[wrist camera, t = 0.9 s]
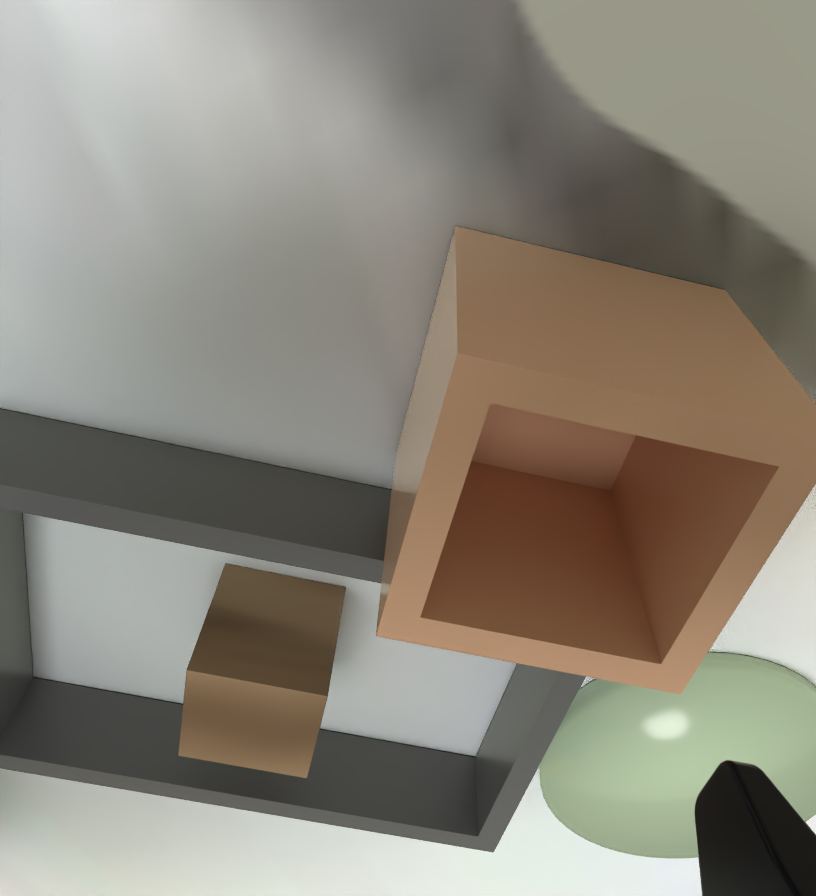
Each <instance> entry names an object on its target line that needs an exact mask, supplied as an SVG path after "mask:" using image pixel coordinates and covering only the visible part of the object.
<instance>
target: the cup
mask: <svg viewBox="0 0 816 896" xmlns="http://www.w3.org/2000/svg"><path fill="white" fill-rule="evenodd" d="M815 484H816V404H815V403H814V402H813V400H812V399H811V398H810V396H809V395H808V394H807V393H806V391H805V390H804V389H803V388H802V386H801V385H800V384H799V383H798V381H797V380H796V379H795V378H794V376H793V375H792V374H791V372H790V371H789V370H788V369H787V367H786V366H785V365H784V364H783V362H782V361H781V360H780V359H779V357H778V356H777V355H776V353H775V352H774V351H773V350H772V348H771V347H770V346H769V345H768V343H767V342H766V341H765V340H764V338H763V337H762V336H761V334H760V333H759V332H758V331H757V329H756V328H755V327H754V326H753V324H752V323H751V322H750V321H749V319H748V318H747V317H746V316H745V314H744V313H743V312H742V310H741V309H740V308H739V307H738V305H737V304H736V303H735V302H734V300H733V299H732V298H731V297H730V295H729V294H728V293H727V291H726V290H723V289H719V288H714V287H710V286H706V285H702V284H698V283H693V282H689V281H685V280H681V279H677V278H672V277H668V276H664V275H660V274H656V273H651V272H647V271H643V270H639V269H635V268H630V267H626V266H622V265H618V264H614V263H609V262H605V261H601V260H597V259H593V258H588V257H584V256H580V255H576V254H572V253H567V252H563V251H559V250H555V249H551V248H546V247H542V246H538V245H534V244H530V243H525V242H521V241H517V240H513V239H509V238H504V237H500V236H496V235H492V234H488V233H483V232H479V231H475V230H471V229H467V228H462V227H458V226H455V229H454V233H453V236H452V240H451V244H450V248H449V252H448V256H447V259H446V263H445V267H444V271H443V275H442V279H441V283H440V286H439V290H438V294H437V298H436V302H435V306H434V309H433V313H432V317H431V321H430V325H429V329H428V333H427V336H426V340H425V344H424V348H423V352H422V356H421V359H420V363H419V367H418V371H417V375H416V379H415V383H414V386H413V390H412V394H411V398H410V402H409V406H408V409H407V413H406V417H405V421H404V425H403V429H402V433H401V436H400V440H399V444H398V448H397V452H396V456H395V463H394V472H393V482H392V491H391V500H390V510H389V519H388V528H387V538H386V547H385V556H384V566H383V575H382V584H381V594H380V603H379V612H378V622H377V631H376V636H378V637H383V638H389V639H394V640H399V641H404V642H410V643H415V644H420V645H425V646H430V647H436V648H441V649H446V650H451V651H456V652H462V653H467V654H472V655H477V656H483V657H488V658H493V659H498V660H503V661H509V662H514V663H519V664H524V665H529V666H535V667H540V668H545V669H550V670H556V671H561V672H566V673H571V674H576V675H582V676H587V677H592V678H597V679H602V680H608V681H613V682H618V683H623V684H629V685H634V686H639V687H644V688H649V689H655V690H660V691H665V692H670V693H675V694H681V693H682V692H683V690H684V689H685V687H686V686H687V684H688V682H689V681H690V679H691V678H692V676H693V675H694V673H695V672H696V670H697V668H698V667H699V665H700V664H701V662H702V661H703V659H704V657H705V656H706V654H707V653H708V651H709V650H710V648H711V646H712V645H713V643H714V642H715V640H716V639H717V637H718V636H719V634H720V632H721V631H722V629H723V628H724V626H725V625H726V623H727V621H728V620H729V618H730V617H731V615H732V614H733V612H734V610H735V609H736V607H737V606H738V604H739V603H740V601H741V600H742V598H743V596H744V595H745V593H746V592H747V590H748V589H749V587H750V585H751V584H752V582H753V581H754V579H755V578H756V576H757V574H758V573H759V571H760V570H761V568H762V567H763V565H764V564H765V562H766V560H767V559H768V557H769V556H770V554H771V553H772V551H773V549H774V548H775V546H776V545H777V543H778V542H779V540H780V538H781V537H782V535H783V534H784V532H785V531H786V529H787V528H788V526H789V524H790V523H791V521H792V520H793V518H794V517H795V515H796V513H797V512H798V510H799V509H800V507H801V506H802V504H803V503H804V501H805V499H806V498H807V496H808V495H809V493H810V492H811V490H812V488H813V487H814V485H815Z"/></svg>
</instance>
